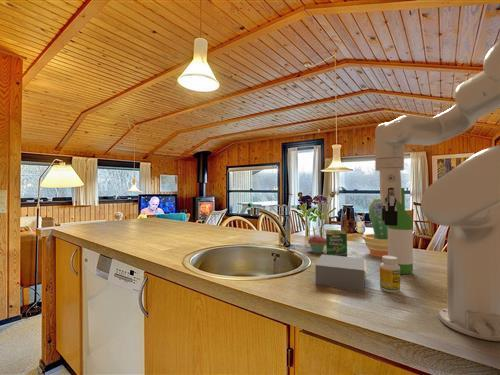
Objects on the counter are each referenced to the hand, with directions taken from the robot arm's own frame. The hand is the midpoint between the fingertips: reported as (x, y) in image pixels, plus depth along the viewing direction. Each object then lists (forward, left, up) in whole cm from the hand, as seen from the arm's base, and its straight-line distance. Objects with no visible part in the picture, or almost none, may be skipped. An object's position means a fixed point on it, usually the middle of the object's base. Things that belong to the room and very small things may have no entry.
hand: (389, 223), depth 78 cm
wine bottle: (+20, -5, -20) cm, 29 cm away
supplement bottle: (0, 0, -20) cm, 20 cm away
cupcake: (+39, +27, -20) cm, 51 cm away
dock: (+3, +14, -20) cm, 24 cm away
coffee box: (+23, +17, -20) cm, 35 cm away
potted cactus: (+44, 0, -20) cm, 48 cm away
